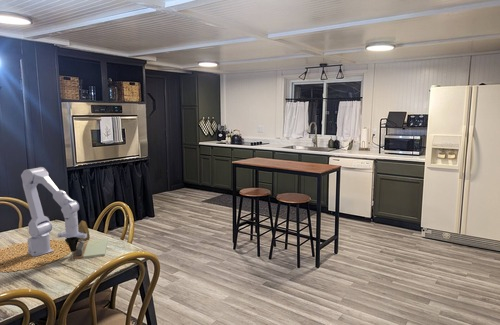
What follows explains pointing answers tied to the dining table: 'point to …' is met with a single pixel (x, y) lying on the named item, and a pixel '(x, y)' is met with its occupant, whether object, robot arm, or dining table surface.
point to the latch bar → (79, 249)
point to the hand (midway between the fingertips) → (73, 251)
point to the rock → (83, 229)
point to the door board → (92, 249)
